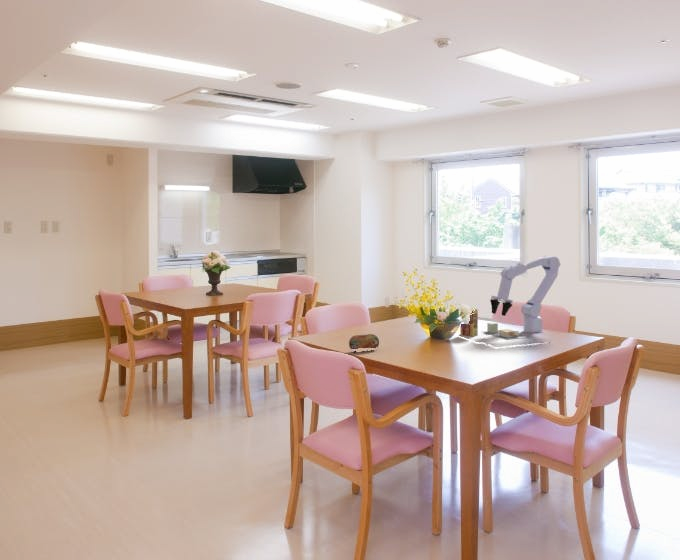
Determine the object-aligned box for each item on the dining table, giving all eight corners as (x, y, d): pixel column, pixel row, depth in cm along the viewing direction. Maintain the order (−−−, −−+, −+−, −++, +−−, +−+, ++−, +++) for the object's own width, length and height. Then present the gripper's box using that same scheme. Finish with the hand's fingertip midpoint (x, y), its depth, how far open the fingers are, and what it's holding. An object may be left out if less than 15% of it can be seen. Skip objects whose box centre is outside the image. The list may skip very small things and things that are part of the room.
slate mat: (503, 331, 333) (503, 329, 332) (530, 339, 309) (530, 337, 309) (481, 333, 329) (481, 331, 328) (506, 341, 305) (506, 339, 305)
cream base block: (511, 334, 319) (511, 328, 319) (518, 336, 312) (518, 330, 312) (499, 335, 317) (499, 329, 317) (507, 337, 310) (506, 332, 310)
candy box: (478, 337, 319) (478, 309, 318) (473, 338, 317) (473, 309, 315) (465, 335, 326) (464, 307, 325) (460, 336, 323) (459, 308, 322)
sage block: (493, 331, 329) (493, 322, 329) (497, 332, 325) (497, 323, 325) (487, 331, 328) (487, 323, 327) (491, 333, 324) (491, 324, 324)
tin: (350, 353, 289) (349, 336, 288) (348, 352, 292) (347, 335, 291) (379, 350, 293) (379, 333, 292) (377, 349, 296) (377, 332, 295)
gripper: (508, 291, 329) (502, 314, 329) (489, 286, 321) (483, 311, 322) (517, 293, 323) (511, 317, 323) (499, 288, 315) (493, 313, 316)
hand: (498, 314), depth 322 cm, fingers open, 7 cm apart
